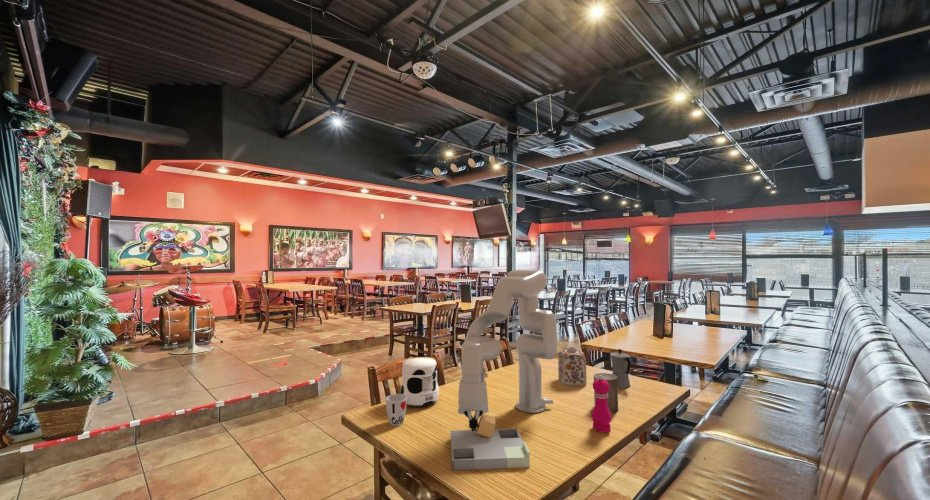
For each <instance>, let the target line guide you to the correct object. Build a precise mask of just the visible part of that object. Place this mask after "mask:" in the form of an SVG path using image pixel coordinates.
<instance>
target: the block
mask: <svg viewBox="0 0 930 500" xmlns="http://www.w3.org/2000/svg"><path fill="white" fill-rule="evenodd" d="M494 429H496V418H495V417H493V416H489V415H487V414H485V413H483V414H482V415H481V416H480V417H479V419H478V428H476V430H477V433H478V434H481V435H483V436H486V437H489V438H491V437H492V434H493V431H494Z"/></svg>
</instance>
